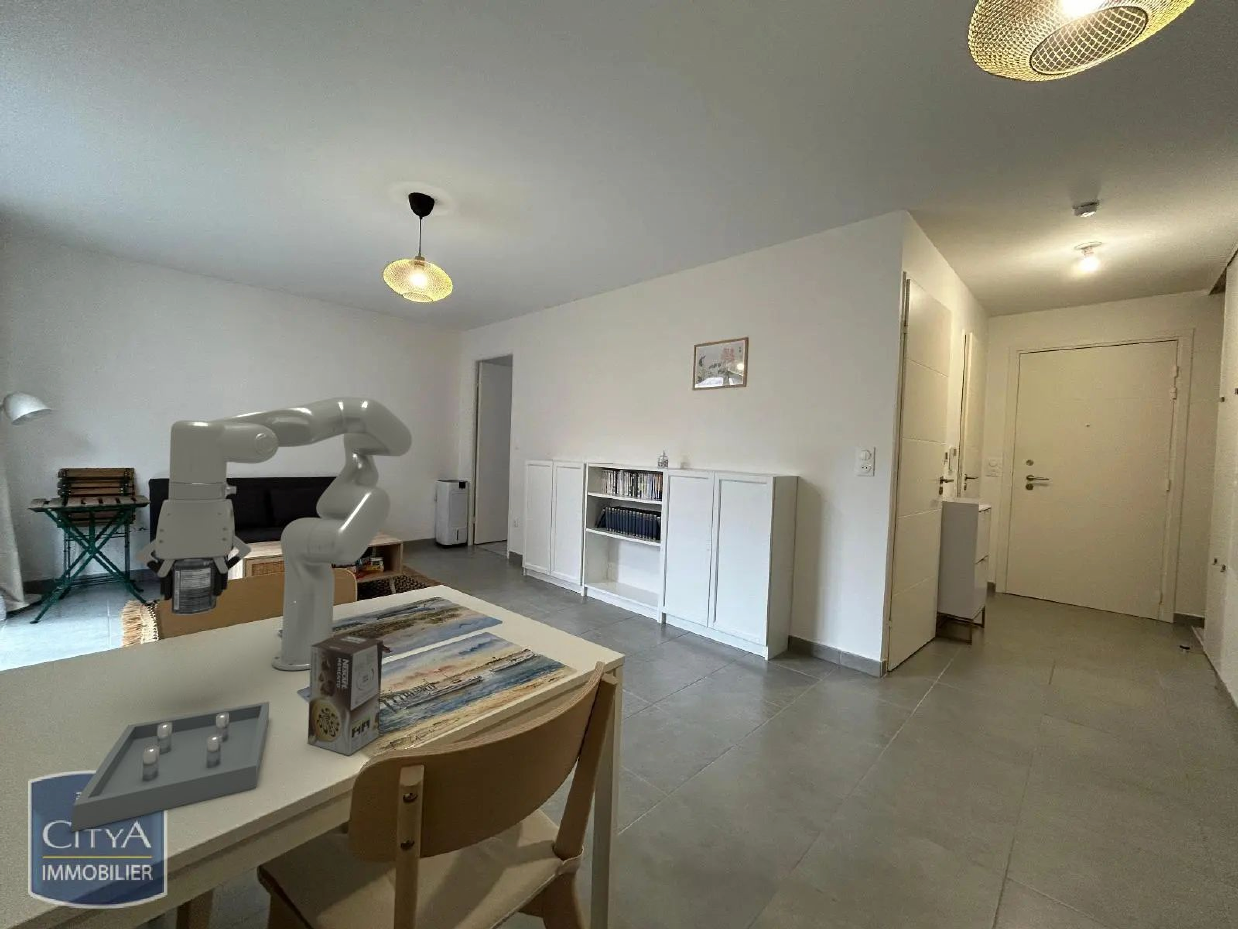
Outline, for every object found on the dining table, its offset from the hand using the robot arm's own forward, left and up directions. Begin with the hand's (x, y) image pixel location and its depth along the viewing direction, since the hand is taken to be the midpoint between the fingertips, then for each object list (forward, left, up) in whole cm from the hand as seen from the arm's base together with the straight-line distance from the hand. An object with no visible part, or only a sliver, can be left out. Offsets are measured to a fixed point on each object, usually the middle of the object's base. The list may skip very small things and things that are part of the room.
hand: (194, 595), depth 86 cm
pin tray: (-3, +17, -21) cm, 27 cm away
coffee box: (-23, +19, -21) cm, 37 cm away
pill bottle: (0, 0, -3) cm, 3 cm away
